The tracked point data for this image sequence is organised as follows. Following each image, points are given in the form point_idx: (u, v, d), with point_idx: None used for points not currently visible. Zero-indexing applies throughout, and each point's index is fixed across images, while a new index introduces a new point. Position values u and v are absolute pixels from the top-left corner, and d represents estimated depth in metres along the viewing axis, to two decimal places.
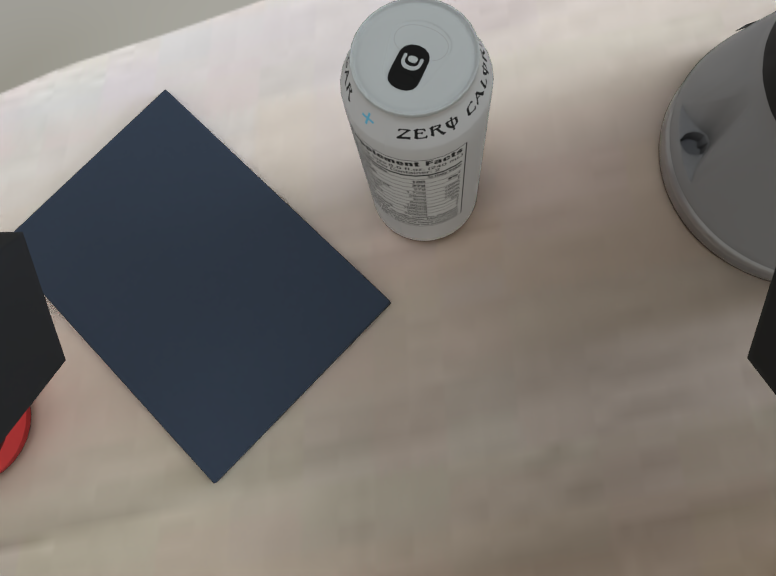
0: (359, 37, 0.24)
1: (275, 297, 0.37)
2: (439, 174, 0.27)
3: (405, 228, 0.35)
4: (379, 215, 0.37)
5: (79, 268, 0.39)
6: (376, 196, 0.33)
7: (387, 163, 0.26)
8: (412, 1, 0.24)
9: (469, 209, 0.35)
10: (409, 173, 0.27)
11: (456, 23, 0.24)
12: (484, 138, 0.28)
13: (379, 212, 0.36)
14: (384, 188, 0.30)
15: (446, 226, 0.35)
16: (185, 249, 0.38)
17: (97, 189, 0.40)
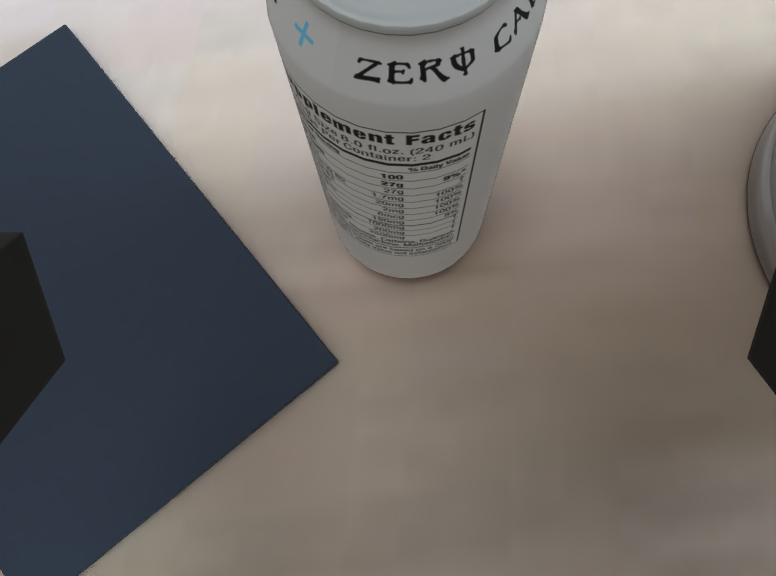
0: None
1: (170, 335, 0.25)
2: (429, 167, 0.16)
3: (371, 255, 0.23)
4: None
5: None
6: (329, 200, 0.21)
7: (338, 133, 0.15)
8: None
9: (469, 239, 0.24)
10: (376, 157, 0.15)
11: None
12: (511, 119, 0.17)
13: (336, 228, 0.24)
14: (338, 185, 0.18)
15: (433, 261, 0.23)
16: (51, 248, 0.26)
17: None
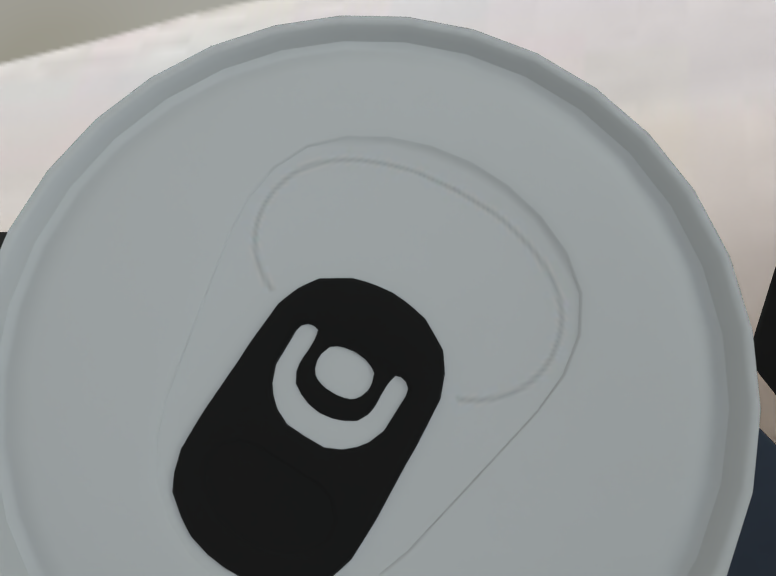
0: (73, 194, 0.04)
1: None
2: None
3: None
4: None
5: None
6: None
7: None
8: (388, 35, 0.05)
9: None
10: None
11: (614, 186, 0.04)
12: None
13: None
14: None
15: None
16: None
17: None
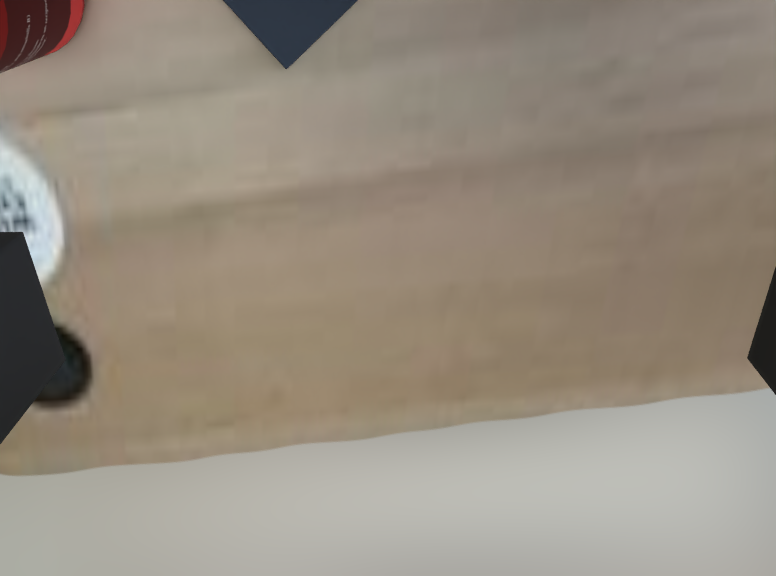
0: None
1: None
2: None
3: None
4: None
5: None
6: None
7: None
8: None
9: None
10: None
11: None
12: None
13: None
14: None
15: None
16: None
17: None
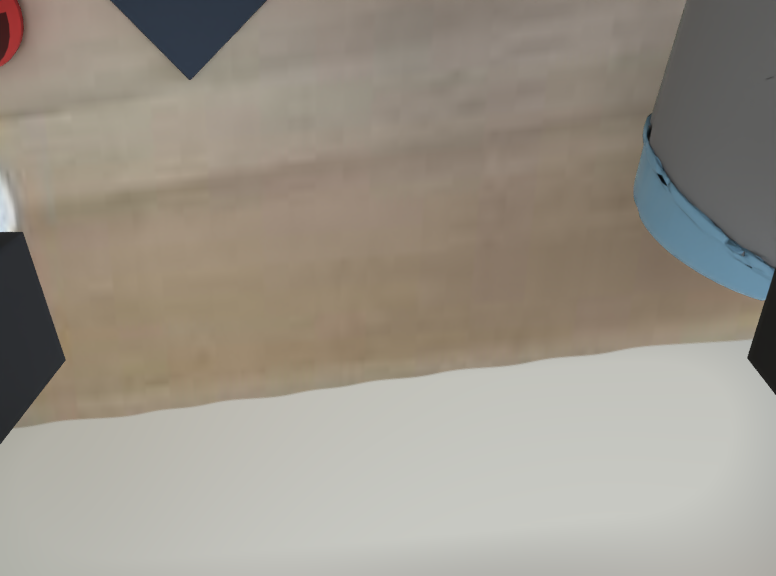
0: None
1: None
2: None
3: None
4: None
5: None
6: None
7: None
8: None
9: None
10: None
11: None
12: None
13: None
14: None
15: None
16: None
17: None
